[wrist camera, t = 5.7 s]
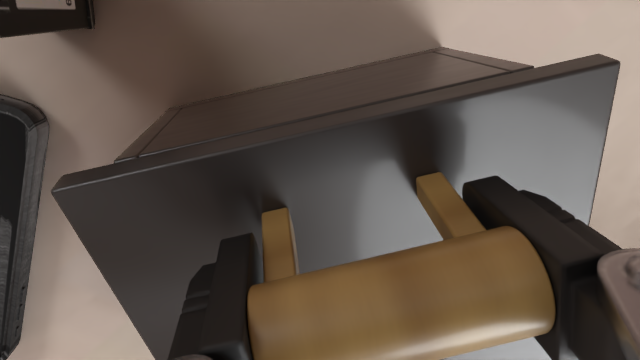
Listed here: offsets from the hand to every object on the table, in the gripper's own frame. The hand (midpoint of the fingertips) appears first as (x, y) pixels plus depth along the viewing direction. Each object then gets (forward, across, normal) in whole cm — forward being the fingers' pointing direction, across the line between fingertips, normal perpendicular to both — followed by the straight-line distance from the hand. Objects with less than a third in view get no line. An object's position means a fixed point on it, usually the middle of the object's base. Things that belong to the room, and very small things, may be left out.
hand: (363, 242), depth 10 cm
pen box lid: (+3, 0, +6) cm, 6 cm away
